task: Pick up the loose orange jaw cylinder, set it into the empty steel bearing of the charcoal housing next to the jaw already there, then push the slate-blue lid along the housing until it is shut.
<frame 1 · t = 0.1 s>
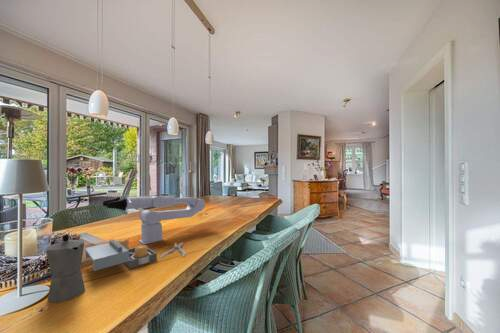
hand: (105, 204, 101), 22 cm above the table, tool horizontal, fingers open, 7 cm apart
jaw seated: (141, 260, 89), point 1 cm above the table, touching housing
housing: (137, 259, 92), on the table
lid: (106, 252, 84), point 6 cm above the table, slide at 11.0 cm
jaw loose: (123, 252, 100), on the table
pliers: (175, 252, 100), on the table
coffeepot: (65, 293, 68), on the table
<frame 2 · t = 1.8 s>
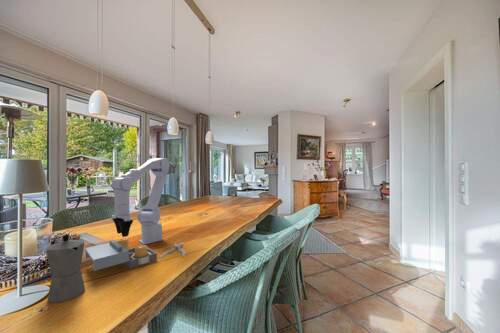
hand: (122, 234, 100), 8 cm above the table, tool pointing down, fingers open, 7 cm apart
nothing on the table moved.
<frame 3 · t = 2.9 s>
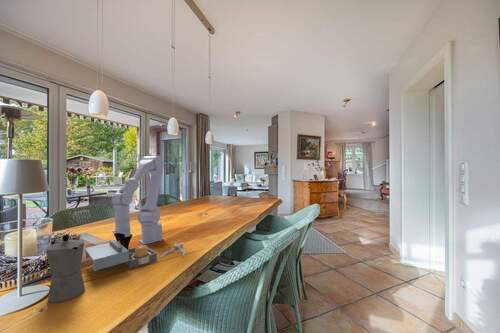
hand: (123, 249, 100), 1 cm above the table, tool pointing down, fingers closed on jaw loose, 4 cm apart
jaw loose: (123, 252, 100), on the table, touching gripper
everything else where it was.
when the fingers open (4 cm above the table, at t = 6.2 s): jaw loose drops 2 cm, resting on housing.
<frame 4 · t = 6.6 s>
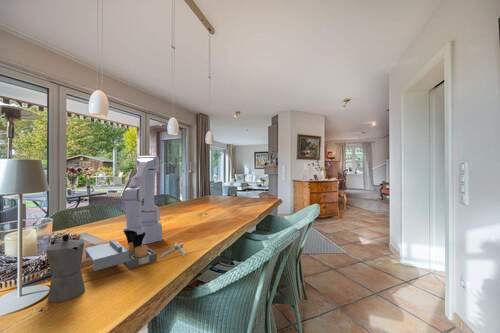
hand: (134, 247, 95), 4 cm above the table, tool pointing down, fingers open, 7 cm apart
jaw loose: (134, 255, 94), point 1 cm above the table, touching housing
everything else where it was.
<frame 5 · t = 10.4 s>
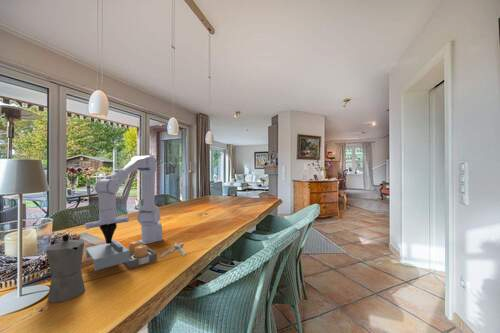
hand: (108, 243, 89), 8 cm above the table, tool pointing down, fingers closed
lid: (107, 252, 84), point 6 cm above the table, slide at 10.8 cm, touching gripper
everything else where it was.
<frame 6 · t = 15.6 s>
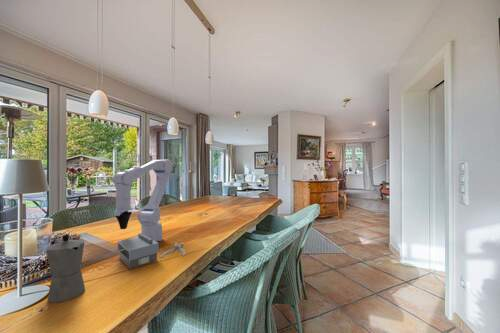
hand: (123, 228, 101), 10 cm above the table, tool pointing down, fingers closed
lid: (137, 244, 92), point 6 cm above the table, slide at 0.0 cm
everything else where it was.
at the end: lid slide at 0.0 cm; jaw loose 0.5 cm from the target spot on the housing, point 0.7 cm above the housing's base; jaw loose tilted 2° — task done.
